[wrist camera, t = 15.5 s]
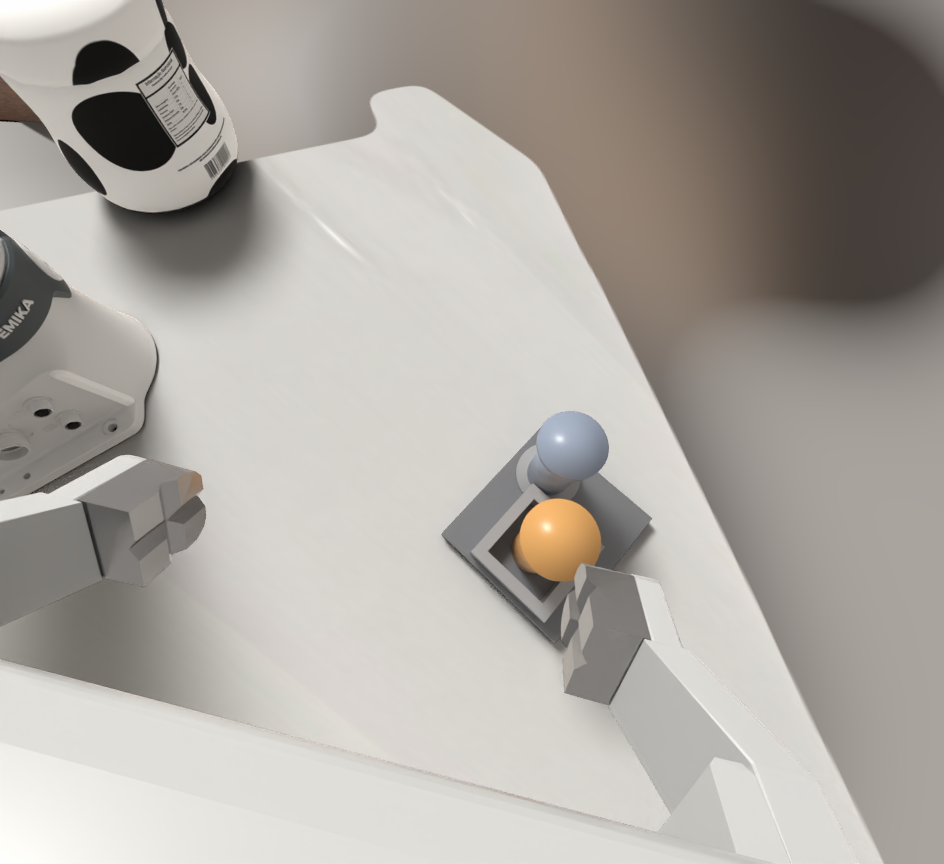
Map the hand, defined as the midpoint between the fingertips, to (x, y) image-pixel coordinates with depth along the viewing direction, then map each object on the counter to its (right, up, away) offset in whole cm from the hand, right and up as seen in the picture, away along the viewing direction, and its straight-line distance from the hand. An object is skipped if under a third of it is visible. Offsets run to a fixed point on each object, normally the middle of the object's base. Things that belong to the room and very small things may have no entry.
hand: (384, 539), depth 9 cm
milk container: (-34, +34, +44) cm, 65 cm away
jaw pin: (+7, -8, +29) cm, 31 cm away
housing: (+9, -7, +31) cm, 33 cm away
